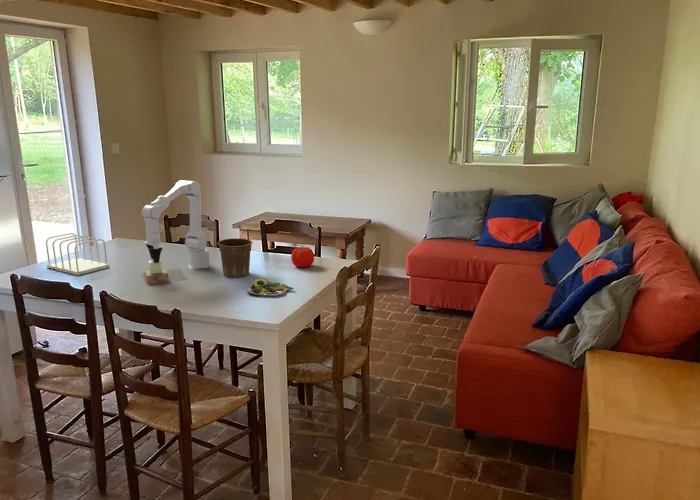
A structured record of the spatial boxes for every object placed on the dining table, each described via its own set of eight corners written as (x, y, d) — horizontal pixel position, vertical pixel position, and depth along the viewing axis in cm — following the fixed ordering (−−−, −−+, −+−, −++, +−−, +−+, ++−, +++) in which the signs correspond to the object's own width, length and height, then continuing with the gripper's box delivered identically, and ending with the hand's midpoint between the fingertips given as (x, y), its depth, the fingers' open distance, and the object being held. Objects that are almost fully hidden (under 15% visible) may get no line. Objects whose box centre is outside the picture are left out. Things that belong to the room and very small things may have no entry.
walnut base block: (165, 276, 262) (164, 268, 261) (168, 281, 254) (167, 273, 253) (145, 278, 258) (144, 270, 257) (147, 284, 250) (147, 275, 249)
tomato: (309, 262, 289) (309, 243, 286) (317, 268, 279) (317, 248, 276) (287, 265, 284) (287, 245, 281) (295, 270, 274) (295, 250, 271)
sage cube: (148, 271, 256) (148, 260, 254) (160, 269, 258) (159, 259, 257) (150, 274, 251) (149, 263, 250) (162, 272, 254) (161, 262, 252)
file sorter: (109, 267, 277) (106, 237, 273) (77, 276, 262) (74, 244, 259) (79, 260, 289) (75, 231, 286) (46, 268, 275) (42, 238, 271)
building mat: (179, 269, 275) (179, 268, 274) (187, 280, 257) (187, 279, 257) (140, 274, 266) (140, 273, 266) (147, 285, 249) (146, 284, 249)
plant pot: (260, 272, 270) (259, 240, 266) (239, 281, 256) (237, 247, 252) (234, 268, 278) (232, 236, 274) (212, 276, 264) (210, 243, 260)
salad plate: (298, 286, 250) (298, 276, 249) (287, 299, 233) (287, 289, 232) (257, 284, 253) (256, 274, 252) (243, 296, 236) (243, 286, 235)
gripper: (141, 229, 255) (143, 258, 258) (145, 235, 242) (148, 265, 245) (157, 228, 258) (159, 256, 261) (162, 234, 245) (164, 263, 249)
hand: (155, 260), depth 254 cm, fingers open, 7 cm apart
